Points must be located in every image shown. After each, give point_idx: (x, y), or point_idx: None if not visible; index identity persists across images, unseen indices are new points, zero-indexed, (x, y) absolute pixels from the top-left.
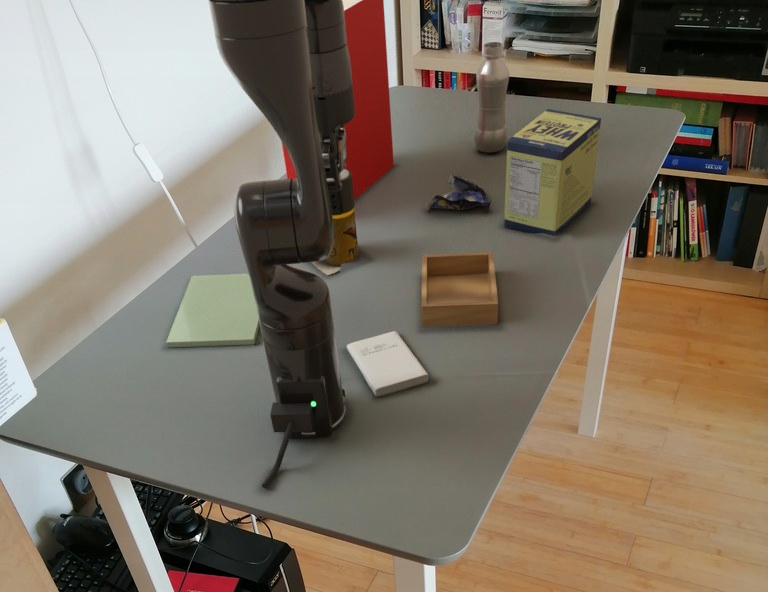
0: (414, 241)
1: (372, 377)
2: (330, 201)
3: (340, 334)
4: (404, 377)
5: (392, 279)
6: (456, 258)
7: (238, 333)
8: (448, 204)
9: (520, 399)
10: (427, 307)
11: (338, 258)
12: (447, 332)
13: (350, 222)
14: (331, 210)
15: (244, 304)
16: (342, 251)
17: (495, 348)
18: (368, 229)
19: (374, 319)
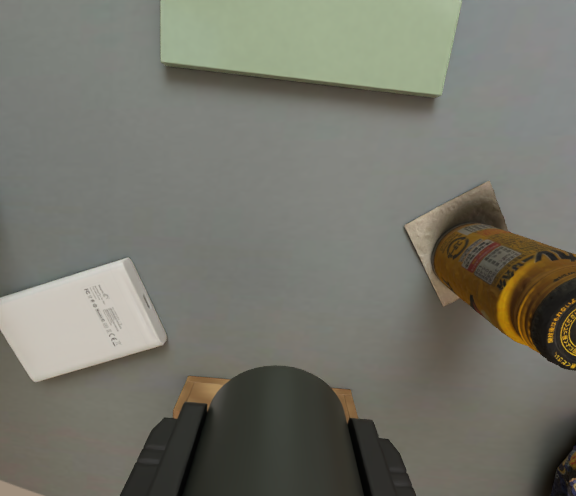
0: (483, 385)
1: (18, 302)
2: (130, 478)
3: (189, 245)
4: (20, 350)
5: (359, 342)
6: None
7: (185, 20)
8: (568, 466)
9: (16, 472)
10: (173, 417)
11: (441, 256)
12: None
13: (492, 323)
14: (153, 433)
15: (309, 29)
16: (446, 271)
17: (134, 460)
18: None
19: (231, 305)
